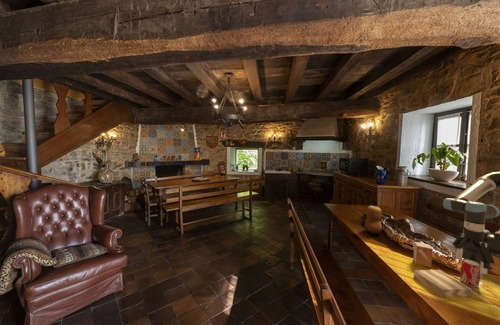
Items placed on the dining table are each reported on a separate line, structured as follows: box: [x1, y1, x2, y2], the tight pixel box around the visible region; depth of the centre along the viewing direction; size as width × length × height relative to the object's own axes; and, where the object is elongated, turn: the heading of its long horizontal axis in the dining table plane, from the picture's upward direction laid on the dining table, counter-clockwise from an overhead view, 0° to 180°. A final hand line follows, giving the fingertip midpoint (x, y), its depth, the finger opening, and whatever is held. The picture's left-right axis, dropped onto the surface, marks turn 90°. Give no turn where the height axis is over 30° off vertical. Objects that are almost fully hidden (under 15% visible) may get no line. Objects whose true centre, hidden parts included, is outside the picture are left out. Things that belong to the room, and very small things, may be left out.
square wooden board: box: [413, 269, 472, 298], centre depth 107 cm, size 16×16×4 cm
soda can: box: [459, 259, 481, 288], centre depth 108 cm, size 7×7×13 cm
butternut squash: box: [364, 205, 383, 235], centre depth 176 cm, size 14×13×25 cm
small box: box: [412, 241, 434, 269], centre depth 128 cm, size 8×6×13 cm
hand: (470, 265), depth 108 cm, fingers open, 13 cm apart
